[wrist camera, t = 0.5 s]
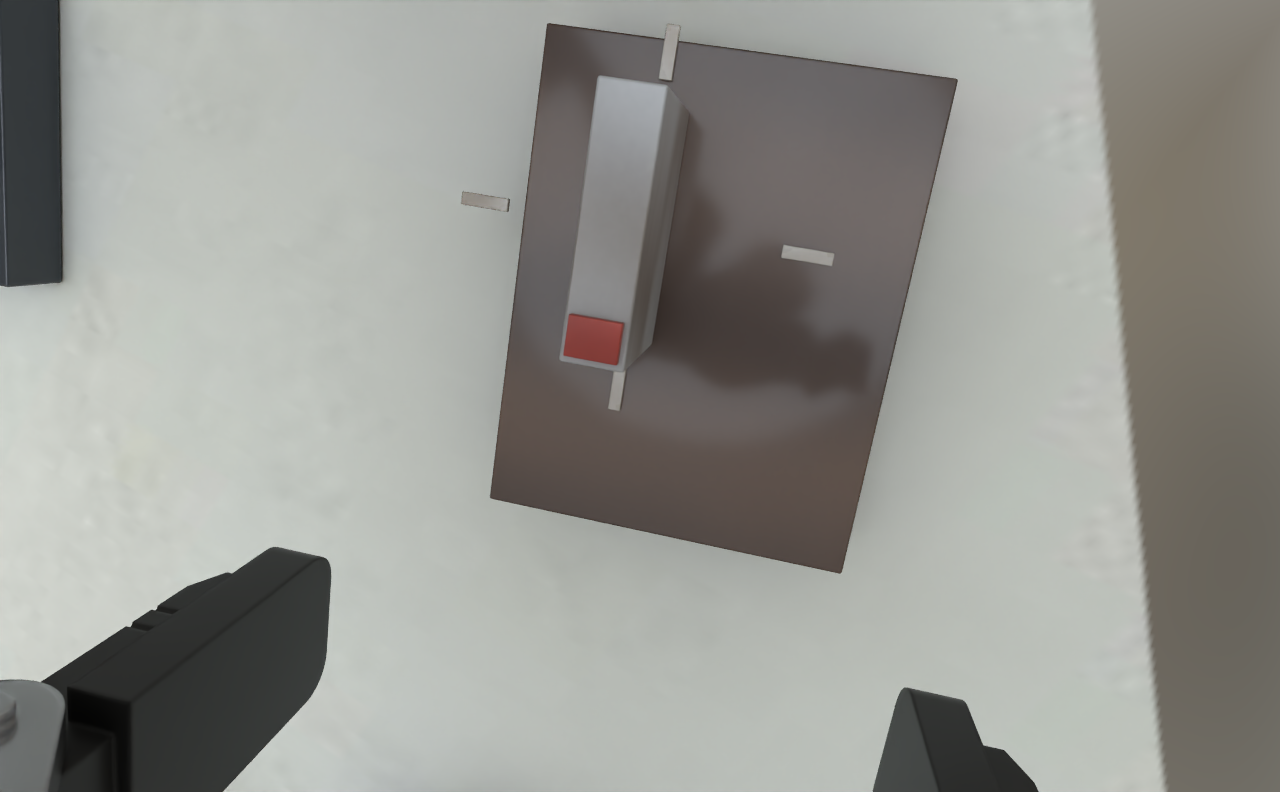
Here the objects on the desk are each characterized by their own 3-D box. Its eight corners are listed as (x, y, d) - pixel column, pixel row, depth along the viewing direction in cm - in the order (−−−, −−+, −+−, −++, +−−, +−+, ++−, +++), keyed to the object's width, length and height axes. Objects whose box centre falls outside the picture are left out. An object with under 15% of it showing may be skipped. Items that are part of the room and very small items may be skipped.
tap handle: (632, 103, 22) (594, 72, 18) (690, 111, 22) (667, 83, 17) (598, 335, 24) (555, 362, 19) (651, 345, 23) (621, 375, 19)
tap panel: (517, 25, 25) (481, -2, 22) (939, 83, 23) (963, 63, 20) (468, 459, 28) (431, 488, 25) (834, 536, 27) (841, 576, 24)
